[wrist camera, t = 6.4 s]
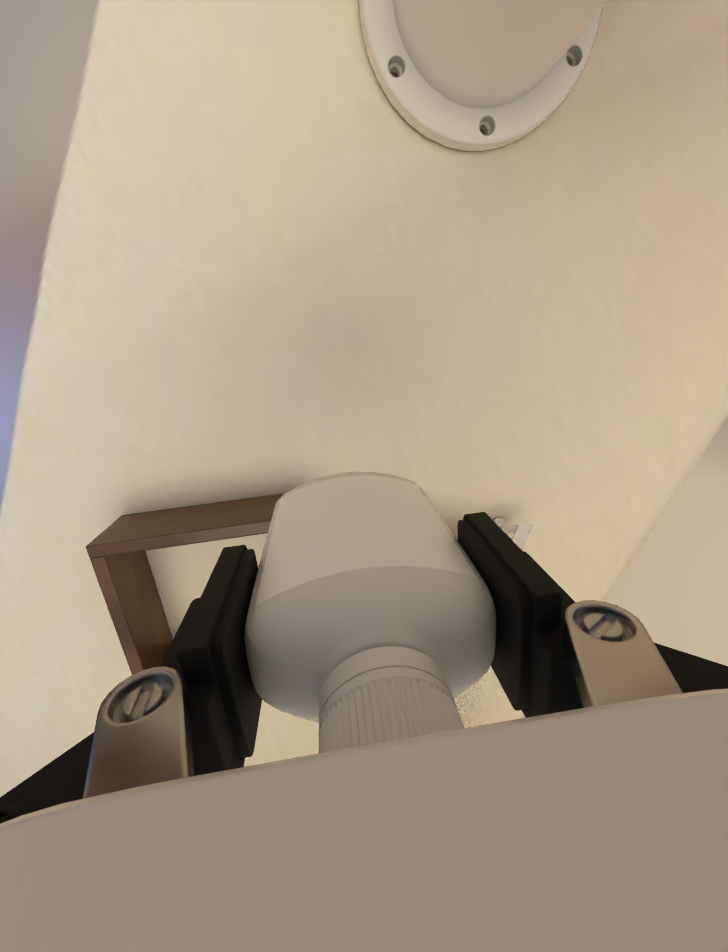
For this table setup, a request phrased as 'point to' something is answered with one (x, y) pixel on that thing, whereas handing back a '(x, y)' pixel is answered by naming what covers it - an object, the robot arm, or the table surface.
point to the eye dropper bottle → (366, 612)
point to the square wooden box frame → (131, 576)
